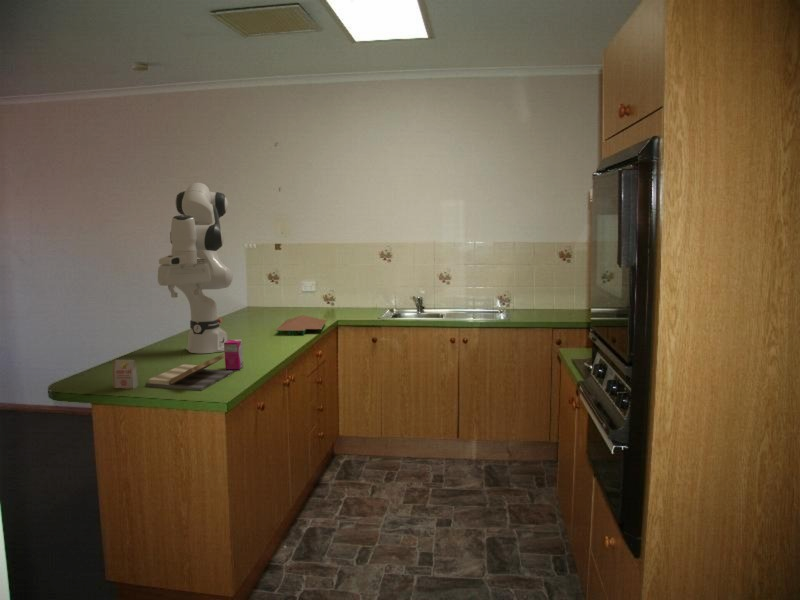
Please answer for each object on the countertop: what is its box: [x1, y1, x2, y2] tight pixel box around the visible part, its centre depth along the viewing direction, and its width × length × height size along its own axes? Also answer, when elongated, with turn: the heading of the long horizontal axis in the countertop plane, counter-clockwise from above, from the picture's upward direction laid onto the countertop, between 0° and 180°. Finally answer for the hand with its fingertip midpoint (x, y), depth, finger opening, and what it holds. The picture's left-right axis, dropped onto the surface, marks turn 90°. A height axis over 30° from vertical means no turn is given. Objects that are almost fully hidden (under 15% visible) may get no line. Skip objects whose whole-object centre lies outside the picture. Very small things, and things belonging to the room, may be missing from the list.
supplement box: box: [223, 339, 244, 371], centre depth 225 cm, size 6×6×12 cm
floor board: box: [145, 363, 234, 392], centre depth 210 cm, size 23×22×3 cm
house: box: [275, 315, 327, 336], centre depth 307 cm, size 23×33×8 cm
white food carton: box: [112, 359, 139, 390], centre depth 199 cm, size 4×7×10 cm, turn 91°
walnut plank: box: [170, 353, 225, 384], centre depth 209 cm, size 22×10×2 cm, turn 169°
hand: (185, 296), depth 210 cm, fingers open, 8 cm apart
